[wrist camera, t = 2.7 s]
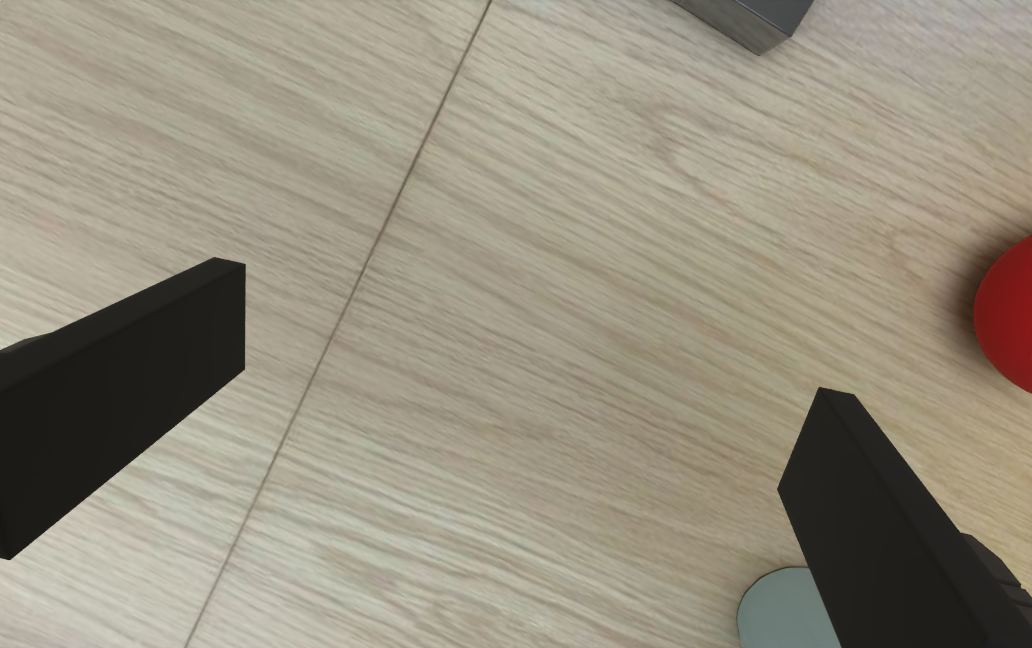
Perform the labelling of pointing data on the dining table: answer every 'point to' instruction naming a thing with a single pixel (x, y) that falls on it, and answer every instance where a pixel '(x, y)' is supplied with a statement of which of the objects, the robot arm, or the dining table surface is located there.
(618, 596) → the dining table surface
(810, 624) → the cup
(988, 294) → the christmas ornament
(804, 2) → the push button box
